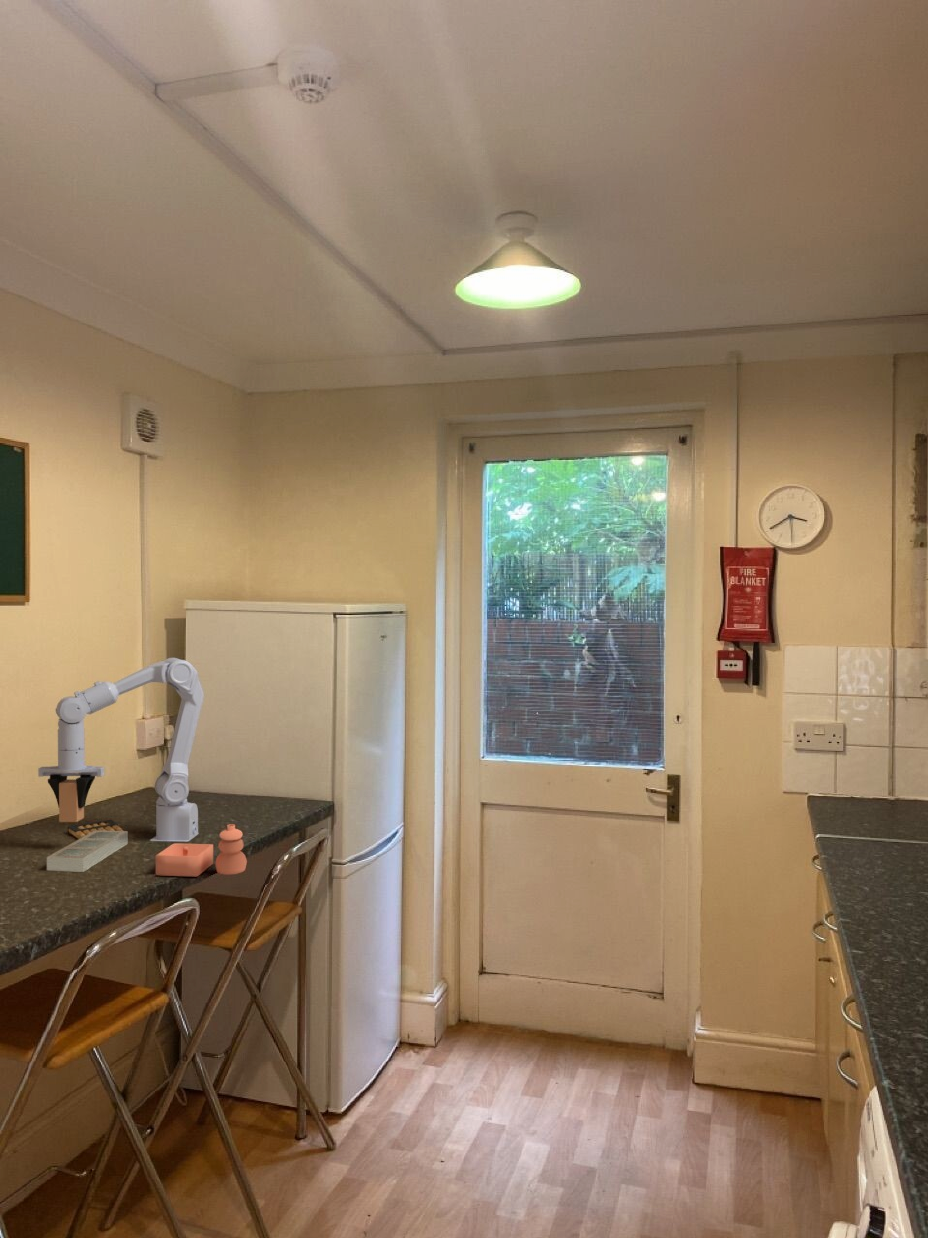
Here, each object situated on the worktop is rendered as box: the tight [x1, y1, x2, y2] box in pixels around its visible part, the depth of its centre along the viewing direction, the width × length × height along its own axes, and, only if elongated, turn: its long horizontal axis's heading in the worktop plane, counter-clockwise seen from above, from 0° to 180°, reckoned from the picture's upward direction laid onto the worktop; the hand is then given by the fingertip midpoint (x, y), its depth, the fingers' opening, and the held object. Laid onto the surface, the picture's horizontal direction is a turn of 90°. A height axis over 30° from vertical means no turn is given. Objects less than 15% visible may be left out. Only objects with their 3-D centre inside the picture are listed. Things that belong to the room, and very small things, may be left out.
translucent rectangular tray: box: [46, 830, 129, 873], centre depth 203 cm, size 22×8×3 cm, turn 177°
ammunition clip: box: [67, 819, 124, 840], centre depth 221 cm, size 11×2×12 cm
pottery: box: [155, 823, 248, 878], centre depth 195 cm, size 18×10×10 cm, turn 85°
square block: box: [58, 778, 85, 823], centre depth 209 cm, size 4×4×9 cm
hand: (71, 807), depth 209 cm, fingers closed on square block, 4 cm apart
